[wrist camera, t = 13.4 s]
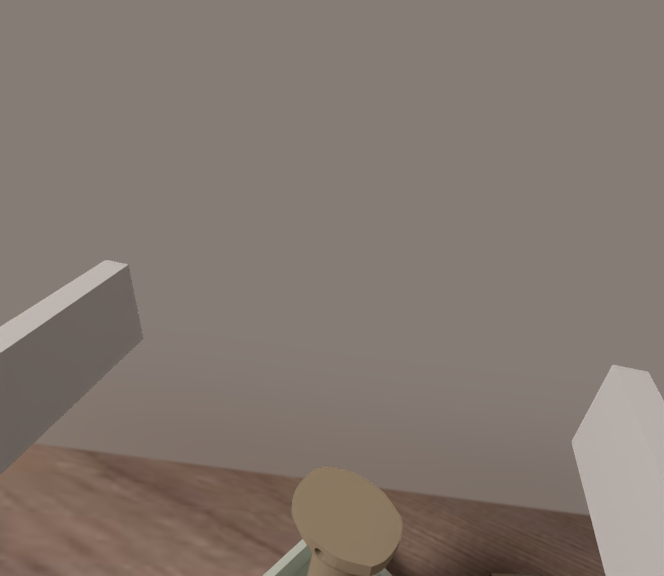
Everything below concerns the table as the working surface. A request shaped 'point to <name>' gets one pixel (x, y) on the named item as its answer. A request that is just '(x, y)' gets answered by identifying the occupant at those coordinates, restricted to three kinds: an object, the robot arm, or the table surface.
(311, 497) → the handle
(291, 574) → the bin
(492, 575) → the collar ring
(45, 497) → the table surface
